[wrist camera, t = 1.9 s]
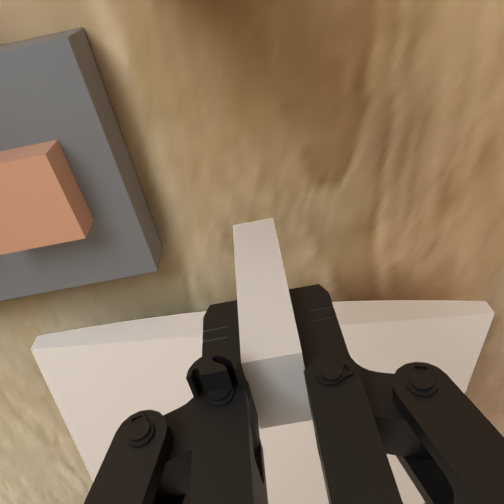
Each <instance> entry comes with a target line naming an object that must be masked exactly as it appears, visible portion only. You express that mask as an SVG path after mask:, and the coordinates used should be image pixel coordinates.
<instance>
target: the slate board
mask: <svg viewBox="0 0 504 504" xmlns="http://www.w3.org/2000/svg"><path fill="white" fill-rule="evenodd" d="M53 140H58V142H59V144H60V147H61V149H62V151H63V153H64V155H65V158H66V160H67V162H68V164H69V166H70V169H71V171H72V173H73V175H74V177H75V180H76V182H77V184H78V186H79V188H80V191H81V193H82V195H83V197H84V199H85V202H86V204H87V206H88V208H89V210H90V213H91V215H92V217H93V219H94V220H93V223H92V225H91V227H90V230H89V232H88V234H87V236H86V238H85V239H80V240H74V241H69V242H64V243H59V244H54V245H49V246H43V247H38V248H33V249H28V250H23V251H18V252H12V253H7V254H2V255H0V301H3V300H8V299H13V298H18V297H24V296H29V295H34V294H40V293H45V292H50V291H56V290H61V289H66V288H72V287H77V286H82V285H87V284H93V283H98V282H103V281H109V280H114V279H119V278H125V277H130V276H135V275H140V274H146V273H151V272H156V271H158V267H159V261H160V256H161V250H162V243H161V240H160V238H159V235H158V232H157V229H156V227H155V224H154V221H153V218H152V216H151V213H150V210H149V207H148V205H147V202H146V199H145V196H144V194H143V191H142V188H141V185H140V183H139V180H138V177H137V174H136V172H135V169H134V166H133V163H132V161H131V158H130V155H129V152H128V150H127V147H126V144H125V141H124V139H123V136H122V133H121V130H120V128H119V125H118V122H117V119H116V117H115V114H114V111H113V108H112V106H111V103H110V100H109V97H108V95H107V92H106V89H105V86H104V84H103V81H102V78H101V75H100V72H99V70H98V67H97V64H96V61H95V59H94V56H93V53H92V50H91V48H90V45H89V42H88V39H87V37H86V34H85V31H84V28H78V29H74V30H69V31H65V32H60V33H55V34H51V35H46V36H41V37H37V38H32V39H27V40H23V41H18V42H14V43H9V44H4V45H0V151H5V150H9V149H14V148H19V147H24V146H29V145H34V144H39V143H44V142H48V141H53Z"/></svg>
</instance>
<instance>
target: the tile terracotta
mask: <svg viewBox="0 0 504 504" xmlns="http://www.w3.org/2000/svg"><path fill="white" fill-rule="evenodd" d="M93 220H94V219H93V217H92V215H91V213H90V210H89V208H88V206H87V204H86V202H85V199H84V197H83V195H82V193H81V191H80V188H79V186H78V184H77V182H76V180H75V177H74V175H73V173H72V171H71V169H70V166H69V164H68V162H67V160H66V158H65V155H64V153H63V151H62V149H61V147H60V144H59V142H58V140H53V141H48V142H44V143H39V144H34V145H29V146H24V147H19V148H14V149H9V150H5V151H0V255H2V254H7V253H12V252H18V251H23V250H28V249H33V248H38V247H43V246H49V245H54V244H59V243H64V242H69V241H74V240H80V239H85V238H86V236H87V234H88V232H89V230H90V227H91V225H92V223H93Z"/></svg>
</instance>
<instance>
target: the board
mask: <svg viewBox="0 0 504 504" xmlns="http://www.w3.org/2000/svg"><path fill="white" fill-rule="evenodd" d="M332 304H333V308H334V310H335V313H336V317H337V319H338V322H339V325H340V328H341V331H342V334H343V337H344V340H345V343H346V346H347V349H348V352H349V354H350V356H351V358H352V359H353V360H354V361H355V362H356V363H357V364H358V365H360V366H361V367H363V368H365V369H368V370H370V371H375V372H382V373H392V374H395V372H396V370H397V369H398V368H400V367H401V366H403V365H404V364H407V363H412V362H424V363H429V364H431V365H434V366H436V367H438V368H440V369H441V370H442V371H443V372H445V373H446V374H447V375H448V376H449V377H450V378H451V380H452V381H453V382H454V383H455V384H456V385H457V386H458V387H459V388H460V390H461V391H462V392H463V393H464V394H465V392H466V389H467V386H468V384H469V381H470V378H471V376H472V373H473V370H474V368H475V365H476V362H477V360H478V357H479V354H480V352H481V349H482V346H483V344H484V341H485V338H486V336H487V333H488V330H489V328H490V325H491V322H492V320H493V317H494V314H495V313H494V311H493V310H492V309H491V307H490V306H489V305H488V303H487V302H486V301H456V300H376V301H341V302H332ZM206 312H207V311H202V312H193V313H184V314H176V315H168V316H160V317H152V318H145V319H138V320H131V321H124V322H117V323H110V324H104V325H97V326H91V327H85V328H79V329H73V330H67V331H61V332H56V333H50V334H45V335H39V336H36V339H35V341H34V343H33V345H32V347H31V351H32V353H33V356H34V358H35V360H36V362H37V364H38V366H39V368H40V370H41V373H42V375H43V377H44V379H45V381H46V383H47V385H48V387H49V390H50V392H51V394H52V396H53V398H54V400H55V402H56V404H57V407H58V409H59V411H60V413H61V415H62V417H63V419H64V421H65V423H66V426H67V428H68V430H69V432H70V434H71V436H72V438H73V440H74V443H75V445H76V447H77V449H78V451H79V453H80V455H81V457H82V460H83V462H84V464H85V466H86V468H87V470H88V472H89V474H90V477H91V479H92V481H93V482H94V480H95V478H96V475H97V473H98V471H99V469H100V467H101V464H102V462H103V460H104V458H105V455H106V453H107V451H108V449H109V447H110V444H111V442H112V440H113V438H114V435H115V433H116V431H117V430H118V428H119V427H120V425H121V424H122V422H124V421H125V420H126V419H127V418H128V417H129V416H130V415H133V414H135V413H137V412H139V411H143V410H154V411H158V412H160V413H161V414H162V415H165V414H167V413H169V412H172V411H174V410H176V409H178V408H180V407H181V406H183V405H185V404H186V403H187V402H189V401H190V400H191V399H192V398H193V397H194V396H193V394H192V392H191V389H190V387H189V384H188V382H187V379H186V376H187V373H188V369H189V368H190V367H191V365H192V364H193V363H194V362H195V361H196V360H198V359H199V358H201V357H202V343H203V317H204V315H205V313H206ZM259 436H260V440H261V444H262V447H263V455H264V465H265V476H266V486H267V496H268V504H329V501H328V496H327V491H326V486H325V481H324V477H323V472H322V467H321V462H320V457H319V454H318V448H317V442H316V437H315V431H314V425H313V420H309V421H303V422H298V423H292V424H286V425H280V426H274V427H268V428H262V429H260V427H259ZM387 457H388V460H389V463H390V466H391V469H392V472H393V475H394V478H395V481H396V484H397V487H398V490H399V493H400V496H401V499H402V502H403V504H424V502H425V501H424V499H423V498H422V496H421V494H420V493H419V491H418V490H417V488H416V487H415V485H414V484H413V482H412V480H411V479H410V477H409V476H408V474H407V473H406V471H405V470H404V468H403V466H402V465H401V463H400V462H399V460H398V459H397V457H396V455H390V454H387Z"/></svg>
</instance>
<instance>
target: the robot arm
mask: <svg viewBox="0 0 504 504" xmlns="http://www.w3.org/2000/svg"><path fill="white" fill-rule="evenodd" d="M233 239H234V255H235V272H236V288H237V300H236V301H230V302H225V303H219V304H214V305H210V306H209V308H208V310H207V312H206V313H205V315H204V317H203V343H202V357H201V358H199V359H198V360H196V361H195V362H194V363H193V364H192V365H191V367H190V368H189V369H188V373H187V376H186V379H187V382H188V384H189V387H190V389H191V392H192V394H193V396H194V397H193V398H192V399H191V400H190V401H189V402H187V403H186V404H185V405H183V406H181V407H180V408H178V409H176V410H174V411H172V412H169V413H167V414H165V415H162V414H161V413H160V412H158V411H154V410H143V411H139V412H137V413H135V414H133V415H130V416H129V417H128V418H127V419H126V420H125V421H124V422H122V424H121V425H120V427H119V428H118V430H117V431H116V433H115V435H114V438H113V440H112V442H111V444H110V447H109V449H108V451H107V453H106V455H105V458H104V460H103V462H102V464H101V467H100V469H99V471H98V473H97V475H96V478H95V480H94V482H93V484H92V487H91V489H90V491H89V493H88V495H87V498H86V500H85V502H84V504H268V496H267V486H266V476H265V465H264V455H263V447H262V444H261V440H260V436H259V427H260V429H262V428H268V427H274V426H280V425H286V424H292V423H298V422H303V421H309V420H313V425H314V431H315V437H316V442H317V448H318V454H319V457H320V462H321V467H322V472H323V477H324V481H325V486H326V491H327V496H328V501H329V504H403V502H402V499H401V496H400V493H399V490H398V487H397V484H396V481H395V478H394V475H393V472H392V469H391V466H390V463H389V460H388V457H387V454H390V455H396V457H397V459H398V460H399V462H400V463H401V465H402V466H403V468H404V470H405V471H406V473H407V474H408V476H409V477H410V479H411V480H412V482H413V484H414V485H415V487H416V488H417V490H418V491H419V493H420V494H421V496H422V498H423V499H424V501H425V502H426V504H504V437H503V436H502V435H501V434H500V433H499V432H498V430H497V429H496V428H495V427H494V426H493V425H492V424H491V423H490V422H489V421H488V419H487V418H486V417H485V416H484V415H483V414H482V413H481V412H480V411H479V409H478V408H477V407H476V406H475V405H474V404H473V403H472V402H471V401H470V399H469V398H468V397H467V396H466V395H465V394H464V393H463V392H462V391H461V390H460V388H459V387H458V386H457V385H456V384H455V383H454V382H453V381H452V380H451V378H450V377H449V376H448V375H447V374H446V373H445V372H443V371H442V370H441V369H440V368H438V367H436V366H434V365H431V364H429V363H424V362H412V363H407V364H404V365H403V366H401V367H400V368H398V369H397V370H396V372H395V374H392V373H382V372H375V371H370V370H368V369H365V368H363V367H361V366H360V365H358V364H357V363H356V362H355V361H354V360H353V359H352V358H351V356H350V354H349V352H348V349H347V346H346V343H345V340H344V337H343V334H342V331H341V328H340V325H339V322H338V319H337V317H336V313H335V310H334V308H333V304H332V301H331V298H330V295H329V293H328V292H327V291H326V290H325V289H324V288H323V287H322V286H320V285H319V284H317V285H311V286H306V287H301V288H295V289H290V290H289V289H288V285H287V280H286V275H285V271H284V266H283V262H282V257H281V252H280V248H279V243H278V238H277V234H276V229H275V224H274V220H273V218H268V219H262V220H257V221H252V222H247V223H242V224H236V225H233Z"/></svg>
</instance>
